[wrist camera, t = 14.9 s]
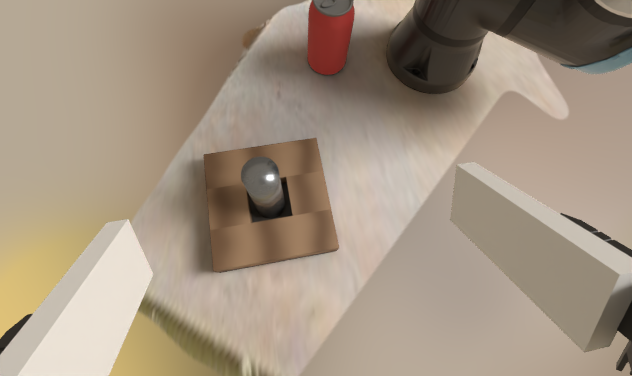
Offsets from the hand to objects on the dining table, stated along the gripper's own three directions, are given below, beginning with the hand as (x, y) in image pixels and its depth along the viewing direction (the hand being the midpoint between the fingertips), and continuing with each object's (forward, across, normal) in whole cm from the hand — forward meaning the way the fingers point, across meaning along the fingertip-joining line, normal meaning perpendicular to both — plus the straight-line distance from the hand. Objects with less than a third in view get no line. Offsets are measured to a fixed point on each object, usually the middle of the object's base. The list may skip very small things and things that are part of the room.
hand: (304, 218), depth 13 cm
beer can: (+46, +10, +1) cm, 47 cm away
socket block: (+29, -3, -16) cm, 33 cm away
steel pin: (+28, -3, -15) cm, 32 cm away
